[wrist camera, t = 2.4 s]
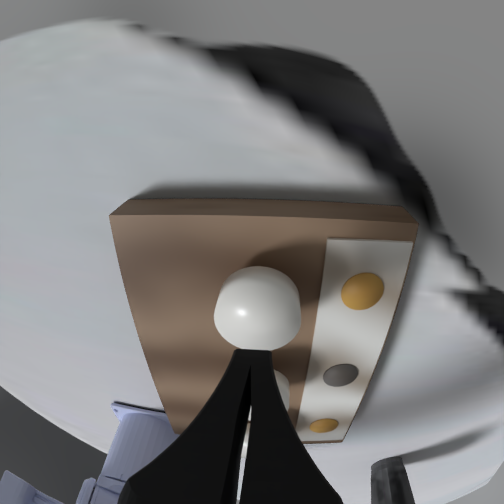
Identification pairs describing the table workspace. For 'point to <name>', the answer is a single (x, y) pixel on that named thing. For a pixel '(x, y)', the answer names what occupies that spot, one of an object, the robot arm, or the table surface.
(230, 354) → the button board
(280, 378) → the button middle
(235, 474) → the robot arm
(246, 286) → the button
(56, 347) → the table surface
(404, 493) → the beverage cup
